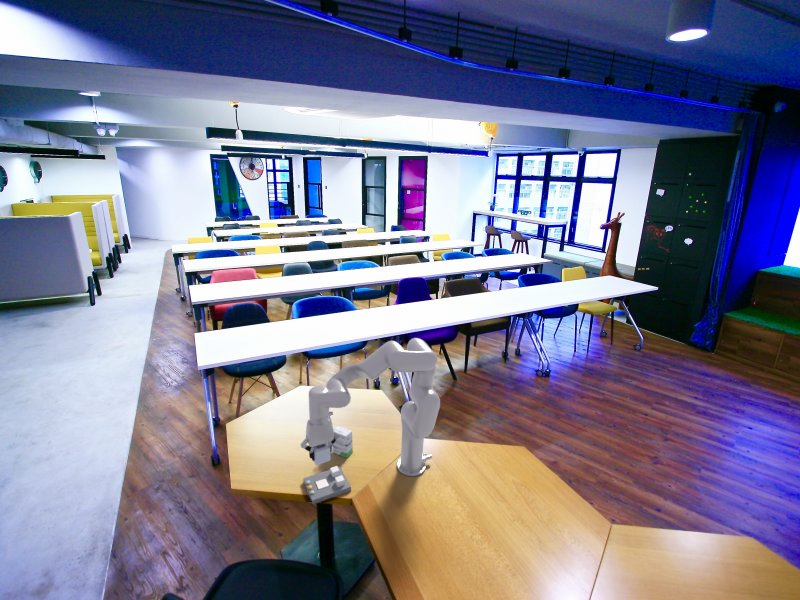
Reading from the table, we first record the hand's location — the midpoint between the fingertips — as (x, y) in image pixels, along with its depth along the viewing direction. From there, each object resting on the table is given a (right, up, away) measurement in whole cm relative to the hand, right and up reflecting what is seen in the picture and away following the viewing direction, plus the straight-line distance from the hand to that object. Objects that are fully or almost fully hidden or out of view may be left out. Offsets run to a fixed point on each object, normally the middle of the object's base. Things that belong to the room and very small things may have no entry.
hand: (320, 455), depth 163 cm
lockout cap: (0, -1, 0) cm, 1 cm away
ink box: (+5, -8, +26) cm, 28 cm away
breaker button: (0, -15, +5) cm, 16 cm away
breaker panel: (+1, -15, +6) cm, 16 cm away
